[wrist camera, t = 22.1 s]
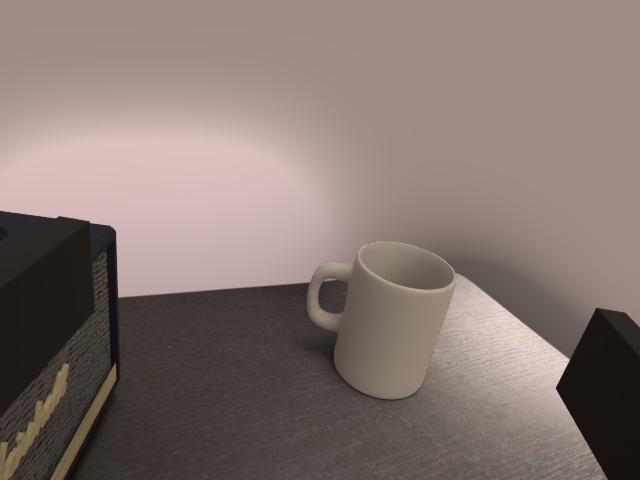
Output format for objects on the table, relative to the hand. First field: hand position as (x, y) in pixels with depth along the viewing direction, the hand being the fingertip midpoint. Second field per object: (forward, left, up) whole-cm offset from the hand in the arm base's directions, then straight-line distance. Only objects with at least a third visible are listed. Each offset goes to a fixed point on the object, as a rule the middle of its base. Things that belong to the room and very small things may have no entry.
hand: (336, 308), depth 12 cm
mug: (+24, -1, -21) cm, 32 cm away
